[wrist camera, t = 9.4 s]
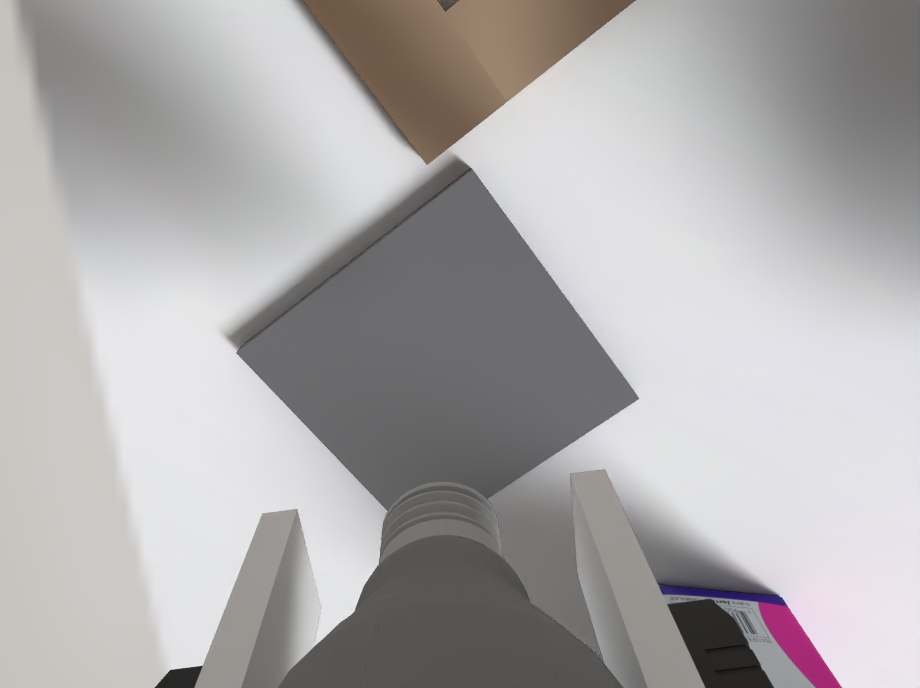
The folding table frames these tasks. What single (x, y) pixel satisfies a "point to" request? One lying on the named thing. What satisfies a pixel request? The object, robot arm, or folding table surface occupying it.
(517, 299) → the mat
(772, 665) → the supplement box
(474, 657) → the light bulb
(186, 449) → the folding table surface
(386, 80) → the wooden picture frame
